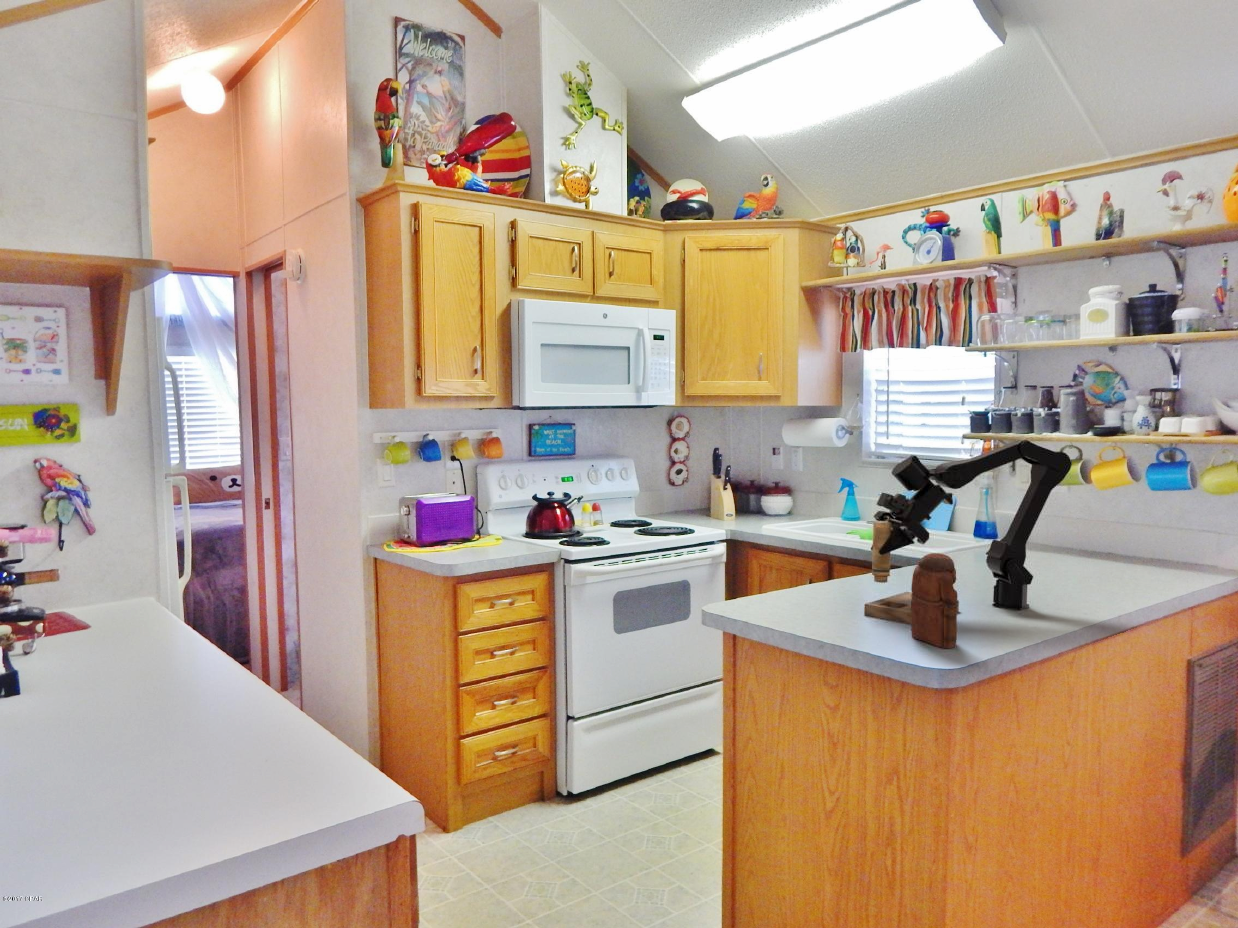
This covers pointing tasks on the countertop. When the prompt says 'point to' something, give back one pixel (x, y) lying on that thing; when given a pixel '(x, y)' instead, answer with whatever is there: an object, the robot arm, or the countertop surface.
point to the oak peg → (879, 561)
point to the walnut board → (893, 608)
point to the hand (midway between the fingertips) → (875, 552)
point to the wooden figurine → (934, 601)
